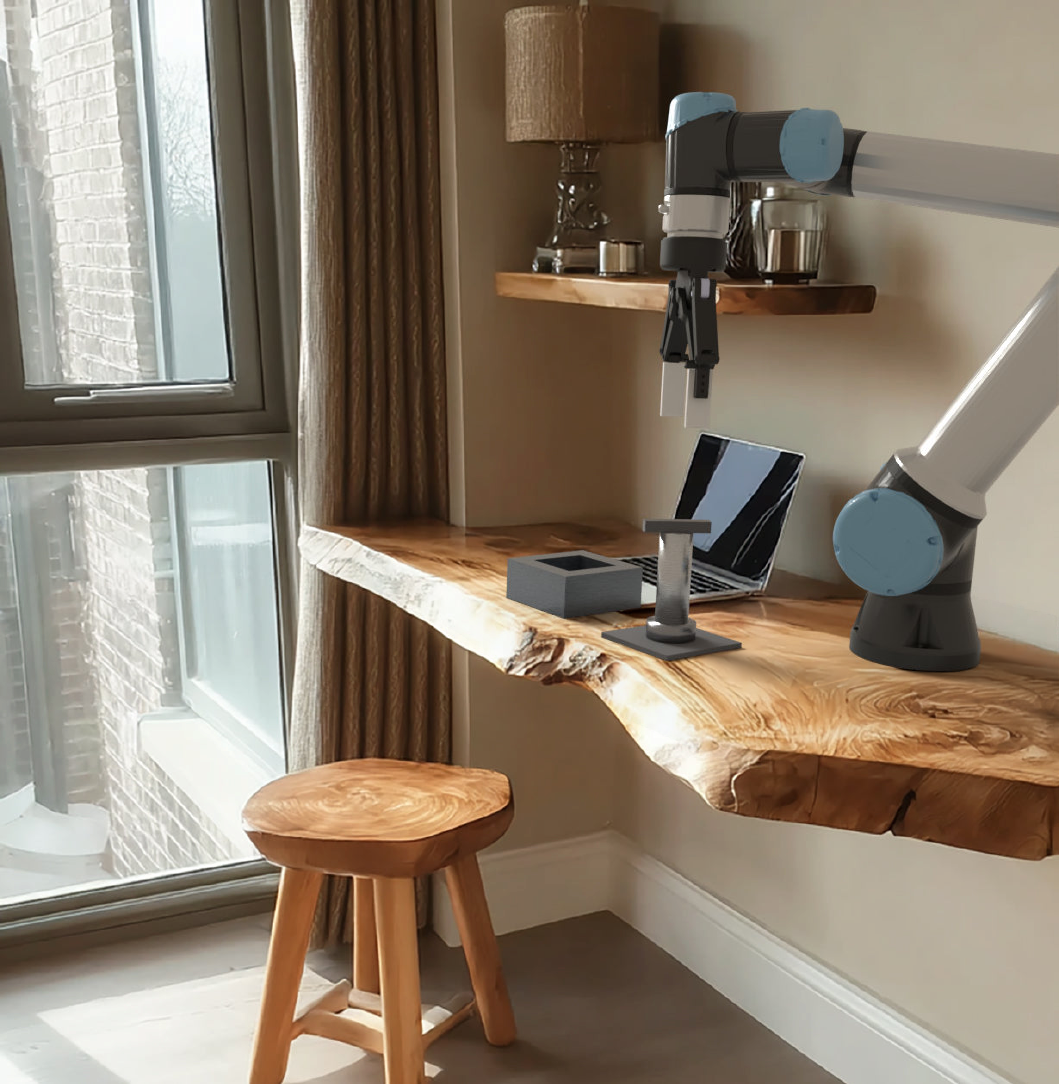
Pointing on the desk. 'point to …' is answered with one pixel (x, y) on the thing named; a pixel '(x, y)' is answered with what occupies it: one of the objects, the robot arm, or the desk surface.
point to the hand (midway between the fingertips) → (683, 422)
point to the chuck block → (574, 583)
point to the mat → (699, 646)
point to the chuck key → (673, 579)
